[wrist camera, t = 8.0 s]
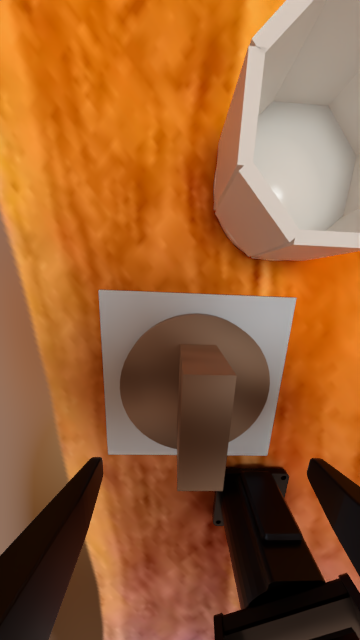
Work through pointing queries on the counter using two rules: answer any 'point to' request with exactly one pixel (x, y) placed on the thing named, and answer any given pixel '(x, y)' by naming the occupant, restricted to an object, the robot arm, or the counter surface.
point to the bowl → (295, 137)
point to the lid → (195, 392)
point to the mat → (153, 307)
